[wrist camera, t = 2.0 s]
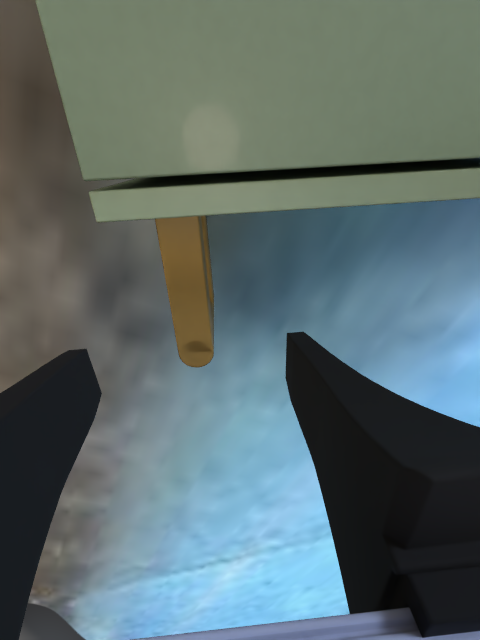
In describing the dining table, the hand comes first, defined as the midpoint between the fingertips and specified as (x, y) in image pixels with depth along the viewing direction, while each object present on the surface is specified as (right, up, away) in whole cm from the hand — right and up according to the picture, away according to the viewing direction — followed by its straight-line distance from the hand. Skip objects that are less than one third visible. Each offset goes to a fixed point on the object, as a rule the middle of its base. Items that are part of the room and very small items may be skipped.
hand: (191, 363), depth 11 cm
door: (+5, +6, +6) cm, 10 cm away
